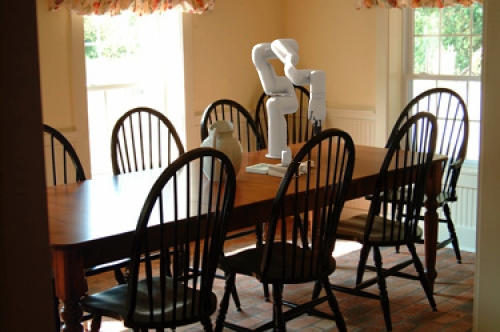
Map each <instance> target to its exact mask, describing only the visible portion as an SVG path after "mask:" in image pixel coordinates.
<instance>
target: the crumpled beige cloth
mask: <svg viewBox="0 0 500 332" xmlns="http://www.w3.org/2000/svg"><path fill="white" fill-rule="evenodd" d="M300 163H301V164H300V166H299V176H301V175H300V174H303V175H305V174H304V173H306V174H308V173H307V164H305V163H303V162H300ZM272 165H273V166H269V167H268V168H269V173H268V176H272V177H280V178H284V177H283V176H284V174H285V172H286V170H287V168H288V167H282V162H281V163H280V162H279V163H277V164H272ZM293 178H296V177H295V174H294V177H293Z"/></svg>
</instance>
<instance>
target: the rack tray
mask: <svg viewBox="0 0 500 332" xmlns="http://www.w3.org/2000/svg"><path fill="white" fill-rule="evenodd" d="M273 165H274V164H270V163H258V164H255V165H251V166H245V172H247V173H251V174H258V175H259V174H260V175H267V174H268V175H269V168H268V167H269V166H273Z"/></svg>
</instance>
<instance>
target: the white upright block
mask: <svg viewBox="0 0 500 332" xmlns="http://www.w3.org/2000/svg"><path fill="white" fill-rule="evenodd" d="M292 153H293V152H292V150H283V151H282V158H281V163H282V167H288V166H289V164H290V163H291V161H292V162H293V160H292Z"/></svg>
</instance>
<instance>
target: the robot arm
mask: <svg viewBox="0 0 500 332" xmlns="http://www.w3.org/2000/svg"><path fill="white" fill-rule="evenodd" d="M299 50H300V47H299V43H298V41H296V39H293V38H278V39H275V40H273V41H272V42H261V43H258V44H256V45H254V46H253V48H252V49H251V59H252V63H253V65H254V67H255V69H256V71H257V73H258V77H259V80H260V83H261V85H262V88H263V89H262V90H263V92H264V93H265V94H266V95H267V96H271V97H269V98H268V99H267V101H266V104H265V106H266V107H265V108H266V112H267V123H268V124H267V126H268V127H267V128H268V130H267V134H268V139H267V140H268V141H267V142H268V143H267V145H268V153H265V154H264V155H265V156H264V157H265V158H267V159H274V160H275V159H278V160H279V159H281V160H282V151H283V150H290V151H292V150H291V147H290V146H289V147H288V146H287V143H288V141H287V139H288V134H287V130H288V129H287V126H288V125H287V121H286V118H285V115H287V114H289V115H290V114H293V113H296V112H297V111H298V109H299V99H298V97H297V94H296V90H295V87H294V85H295V86H299V87H300V86H309V102H308V108H307V109H308V112H307V119H308V120H309V121H310V123H311V124H312V125H313V134H314V135H318V133H320V132H322V130H323V129H322V126H323V122H325V121H326V120H325V119H326V118H327V101H326V100H327V97H326V95H327V93H326V92H327V91H326V90H327V84H326V83H327V77H326V75H327V74H326V71H325V70H322V69H313V68H309V69H298V68H296V66H297V64H298V63H299V61H300V55H299V54H298V53H299ZM268 60H279V61H280V62H281V63H282V64H283V65H284V66H283V68H284V69H283V70H284V74H285V76H283V75H282V76H281V75H280V76H278V75H277V73H276V71H275V68H274V66H273V65H272V64H271V63H270V62H269V61H268ZM322 133H323V132H322Z"/></svg>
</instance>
